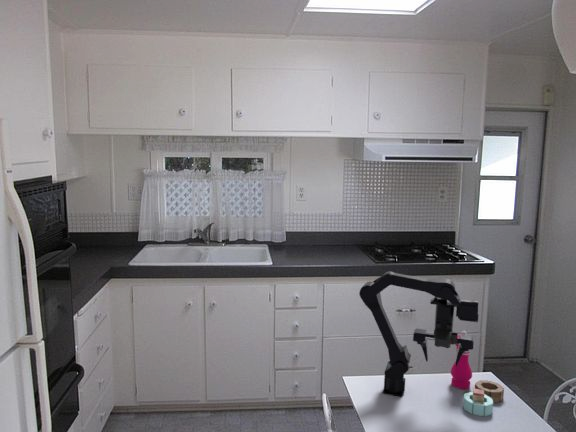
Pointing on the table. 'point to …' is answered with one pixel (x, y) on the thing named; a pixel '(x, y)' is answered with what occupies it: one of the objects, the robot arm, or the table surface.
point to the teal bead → (478, 405)
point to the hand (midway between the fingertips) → (441, 363)
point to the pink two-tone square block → (478, 395)
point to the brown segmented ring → (491, 389)
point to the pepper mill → (461, 369)
